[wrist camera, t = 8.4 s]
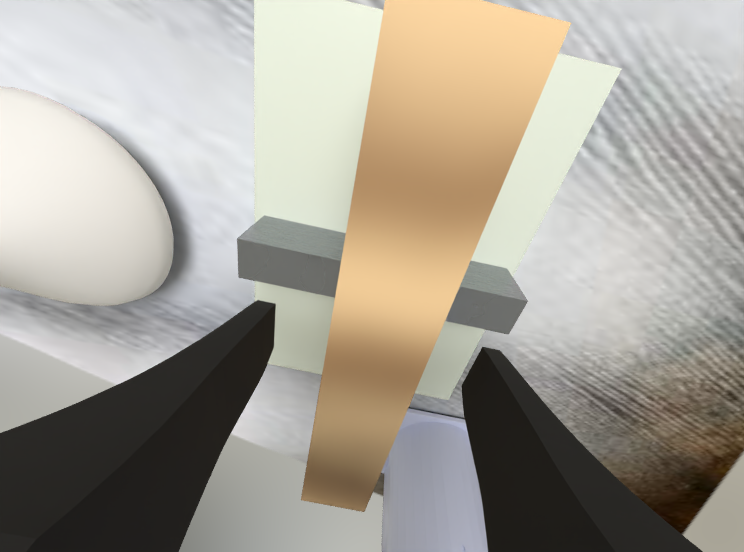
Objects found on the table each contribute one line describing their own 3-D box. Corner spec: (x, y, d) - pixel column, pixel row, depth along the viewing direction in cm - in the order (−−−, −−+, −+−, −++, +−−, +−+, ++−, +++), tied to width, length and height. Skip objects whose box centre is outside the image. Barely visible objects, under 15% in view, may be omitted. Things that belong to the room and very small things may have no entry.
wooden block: (372, 415, 18) (364, 511, 14) (324, 405, 18) (300, 499, 14) (490, 58, 9) (571, 22, 5) (394, 34, 9) (388, -22, 5)
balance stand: (446, 386, 23) (455, 441, 19) (261, 348, 22) (234, 397, 19) (603, 71, 12) (686, 60, 9) (266, -12, 12) (209, -60, 8)
